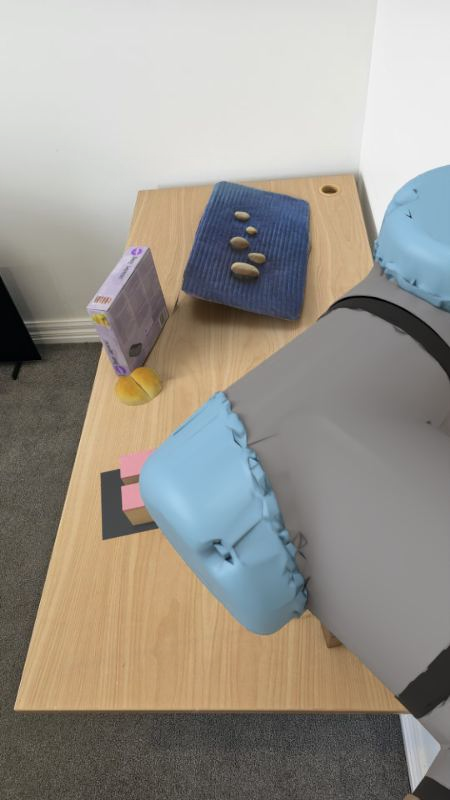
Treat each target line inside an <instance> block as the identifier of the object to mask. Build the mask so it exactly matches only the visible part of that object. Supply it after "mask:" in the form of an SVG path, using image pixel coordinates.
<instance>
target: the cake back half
mask: <svg viewBox="0 0 450 800" xmlns="http://www.w3.org/2000/svg"><path fill="white" fill-rule="evenodd" d="M157 448H158V447H156V448H155V447H154V448H151V449H145V450H142V451H141V450H140V451H136V452H132V453H127V454H123V455H119V469H120V472H121V479H122V481H123V482H124V484H125V485H130V484H135V483H139V476H140V472H141V469H142V466H143V464H144V463H145V461H146V460H147V458H148V457H149V456H150V455H151V454H152V453H153V452H154V451H155V450H156V449H157Z"/></svg>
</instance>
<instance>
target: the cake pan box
mask: <svg viewBox="0 0 450 800" xmlns="http://www.w3.org/2000/svg"><path fill="white" fill-rule="evenodd" d="M151 250H152V249H151V248H150V246H144V245H143V246H142V245H130V246H129V247H128V248H127V249H126V251H125V252H124V254H123V255H122V257H120V259H119V261H118V262H117V264H116V265H115V266H114V268H113V269H112V270H111V272H110V273H109V275H108V276H107V278H106V279H105V281H104V282H103V284H102V285H101V286H100V287H99V289H98V291H97V292H96V293H95V295H94V296H93V298H92V299H91V301H90V302H89V303H88V304H87V306H86V308H85V310H86V312H87V313H88V316H89V318H90V320H91V323H92V325H93V327H94V329H95V331H96V333H97V335H98V338H99V340H100V342H101V344H102V346H103V348H104V352H105V353H106V355H107V357H108V359H109V362H110V364H111V367H112V368H113V370H114V373H115V375H118V376H122V377H123V376H130V374H131V373H132V372H133V371H134V370H135V369H136V368H138V367H143V364H144V363H145V361H146V359H147V357H148V355H149V354H150V353H151V351H152V349H153V347H154V346H155V344H156V343H157V340H158V337H159V336H160V334H161V332H162V329H164V326H165V324H166V322H167V320H168V319H169V318H170V314H169V310H168V306H167V303H166V300H165V299H166V298H165V296H164V292H163V289H162V286H161V282H160V279H159V276H158V271H157V267H156V265H155V261H154V257H153V254H152V251H151Z"/></svg>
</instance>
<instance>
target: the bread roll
mask: <svg viewBox="0 0 450 800" xmlns="http://www.w3.org/2000/svg"><path fill="white" fill-rule="evenodd" d="M162 382H163V381H162V380H161V377H160V375H159V374H158V373H157V371H156V370H155V369H154V368H153V367H149V366H141V367H138V368H136V369H135V370H134V371H133V372H132V373H131V374H130V376H123V375H122V376H121V377H120V378H118V380H116V383H115V387H114V394H115V398H116V399H117V401H118V402H119V403H121V404H123V405H126V406H127V407H128V406H129V407H138V406H142V405H146V404H147V403H149V402H151V401H152V400H154V399H155V398H156V397H158V395H159V394H160V393H161V391H163V385H162Z"/></svg>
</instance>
